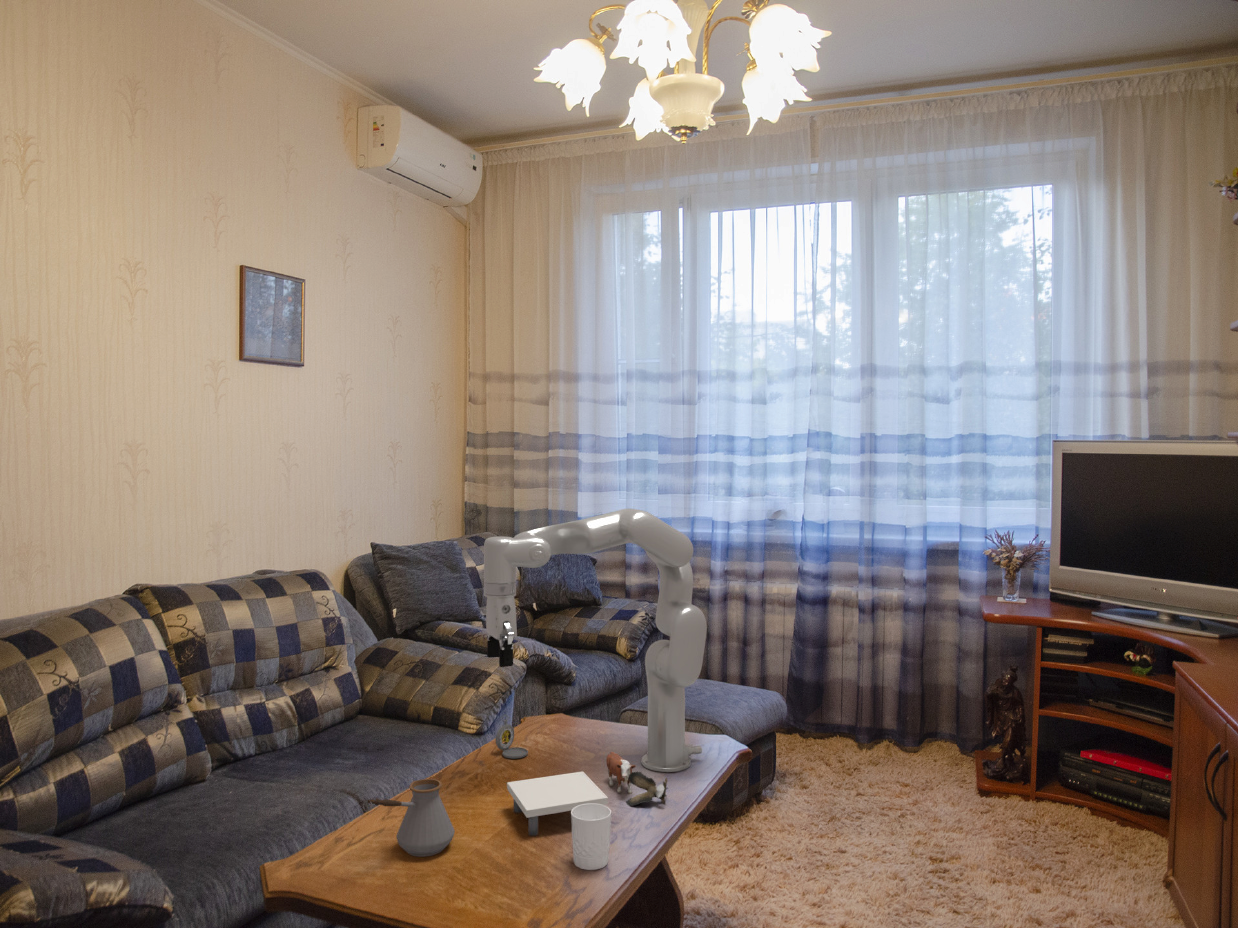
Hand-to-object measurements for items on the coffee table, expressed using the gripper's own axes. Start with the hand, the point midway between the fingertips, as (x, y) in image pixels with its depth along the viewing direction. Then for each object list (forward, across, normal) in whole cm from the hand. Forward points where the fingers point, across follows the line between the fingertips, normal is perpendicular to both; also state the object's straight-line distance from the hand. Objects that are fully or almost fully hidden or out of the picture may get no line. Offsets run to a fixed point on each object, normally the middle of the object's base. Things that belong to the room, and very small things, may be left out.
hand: (499, 661), depth 202 cm
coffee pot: (+31, -25, +26) cm, 48 cm away
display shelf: (+31, -20, -7) cm, 37 cm away
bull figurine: (+31, -12, -26) cm, 42 cm away
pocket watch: (+31, +21, -10) cm, 39 cm away
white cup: (+31, -42, -6) cm, 52 cm away
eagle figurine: (+31, -21, -29) cm, 47 cm away
